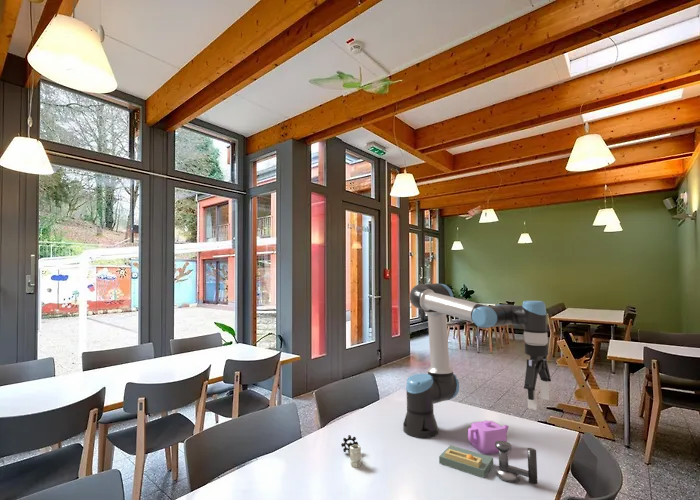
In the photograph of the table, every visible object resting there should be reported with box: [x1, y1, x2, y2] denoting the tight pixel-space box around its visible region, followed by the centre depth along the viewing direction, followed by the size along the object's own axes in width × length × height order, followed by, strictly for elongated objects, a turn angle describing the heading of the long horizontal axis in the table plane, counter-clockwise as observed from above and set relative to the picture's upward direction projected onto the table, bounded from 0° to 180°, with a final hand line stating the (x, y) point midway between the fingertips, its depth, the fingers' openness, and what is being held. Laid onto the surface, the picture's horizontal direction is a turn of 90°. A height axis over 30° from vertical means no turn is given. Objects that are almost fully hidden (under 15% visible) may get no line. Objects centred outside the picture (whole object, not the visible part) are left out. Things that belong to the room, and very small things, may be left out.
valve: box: [340, 434, 362, 469], centre depth 133 cm, size 7×7×12 cm
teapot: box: [467, 420, 509, 455], centre depth 142 cm, size 18×10×10 cm, turn 104°
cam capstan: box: [495, 441, 538, 485], centre depth 120 cm, size 13×7×11 cm, turn 53°
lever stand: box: [438, 444, 494, 479], centre depth 130 cm, size 16×11×5 cm
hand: (538, 404), depth 128 cm, fingers open, 13 cm apart
